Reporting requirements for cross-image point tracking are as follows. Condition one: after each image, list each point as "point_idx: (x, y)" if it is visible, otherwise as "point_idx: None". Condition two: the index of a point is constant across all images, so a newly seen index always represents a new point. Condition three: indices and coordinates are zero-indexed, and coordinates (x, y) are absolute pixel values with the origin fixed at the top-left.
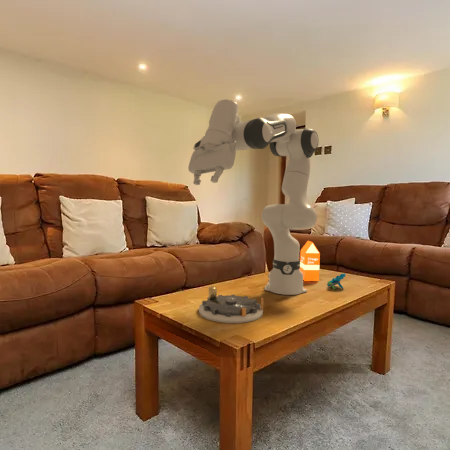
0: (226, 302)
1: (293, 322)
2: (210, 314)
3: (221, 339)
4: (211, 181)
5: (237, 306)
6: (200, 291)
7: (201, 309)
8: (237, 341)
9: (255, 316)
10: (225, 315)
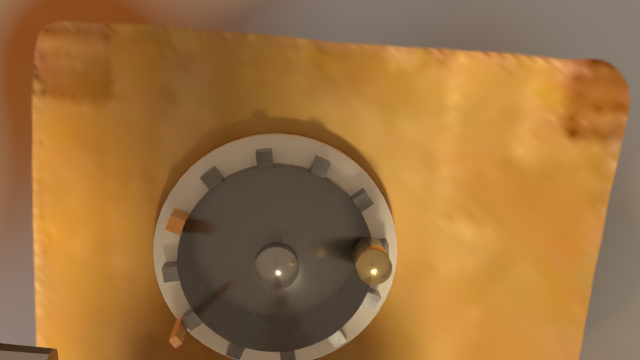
0: (281, 244)
1: (53, 318)
2: (275, 145)
3: (117, 34)
4: (47, 350)
5: (227, 245)
6: (536, 344)
7: (340, 161)
8: (70, 60)
9: (153, 250)
10: None
